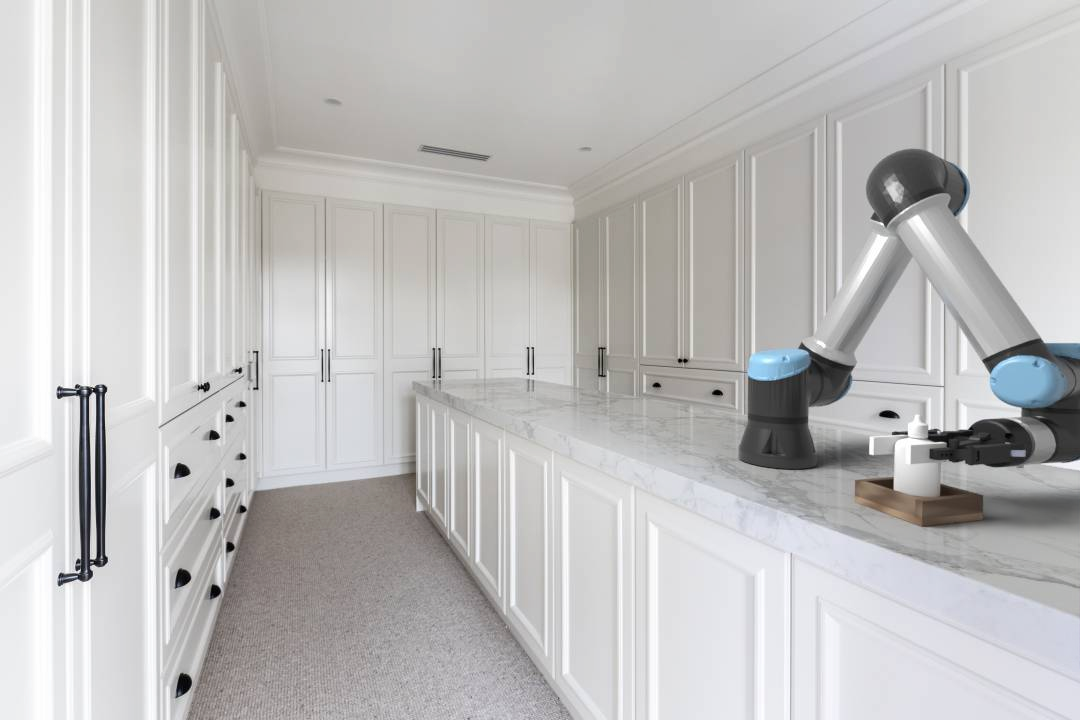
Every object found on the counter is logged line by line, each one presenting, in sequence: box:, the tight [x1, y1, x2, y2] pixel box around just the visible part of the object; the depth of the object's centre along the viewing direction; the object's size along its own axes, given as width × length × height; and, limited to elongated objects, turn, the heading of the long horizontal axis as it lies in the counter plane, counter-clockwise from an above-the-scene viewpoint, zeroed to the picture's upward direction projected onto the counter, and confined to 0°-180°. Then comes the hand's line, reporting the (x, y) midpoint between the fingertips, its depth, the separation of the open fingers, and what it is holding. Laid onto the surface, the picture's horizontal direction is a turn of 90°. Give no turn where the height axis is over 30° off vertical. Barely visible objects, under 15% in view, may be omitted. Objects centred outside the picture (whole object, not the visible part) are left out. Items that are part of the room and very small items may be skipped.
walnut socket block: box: [854, 476, 984, 527], centre depth 77 cm, size 11×11×4 cm
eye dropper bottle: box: [893, 414, 942, 498], centre depth 77 cm, size 4×6×12 cm
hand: (889, 449), depth 75 cm, fingers closed on eye dropper bottle, 5 cm apart
